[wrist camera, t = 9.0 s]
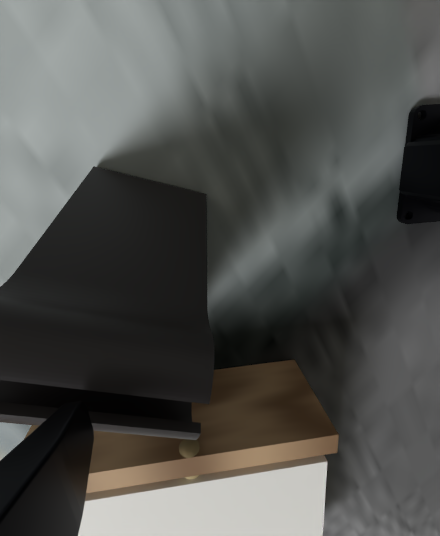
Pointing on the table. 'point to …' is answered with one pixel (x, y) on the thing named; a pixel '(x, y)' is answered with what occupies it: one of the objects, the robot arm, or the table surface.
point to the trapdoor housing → (223, 431)
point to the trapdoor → (216, 504)
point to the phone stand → (112, 311)
